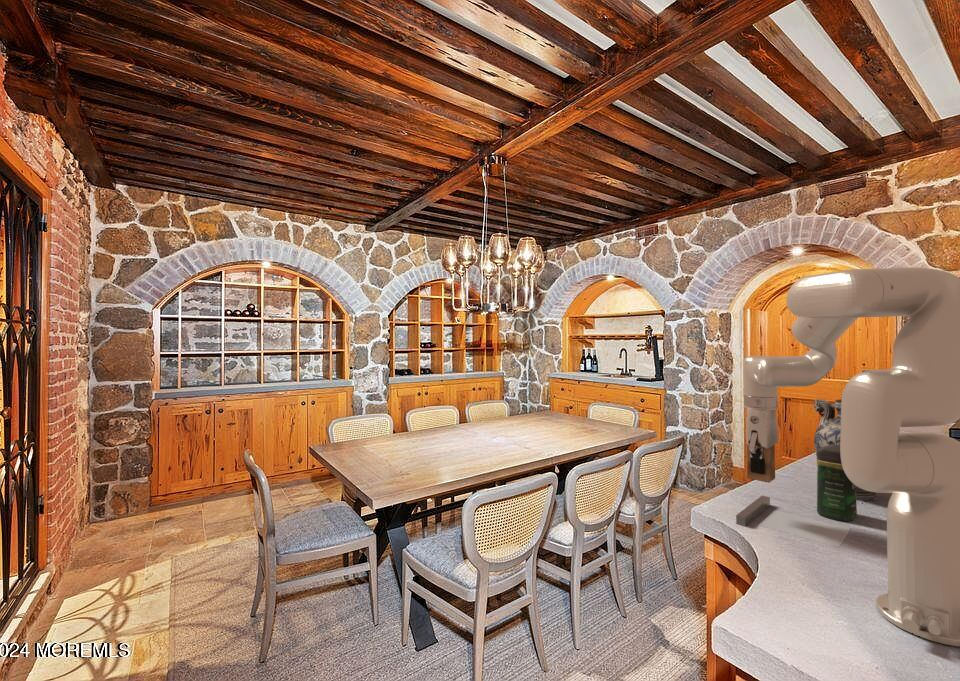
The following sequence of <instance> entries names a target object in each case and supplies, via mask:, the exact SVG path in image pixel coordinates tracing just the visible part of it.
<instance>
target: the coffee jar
mask: <svg viewBox="0 0 960 681" xmlns="http://www.w3.org/2000/svg"><path fill="white" fill-rule="evenodd" d="M816 475H817V477H816V478H817V479H816V480H817V481H816V487H817V490H816V512H817V514H818V515H820V516H823V517H825V518H827V519H829V520H834V521H841V522H847V523H849V522H852V521H853V520H855V519H856V517H857V513H858V508H857V506H858V505H857V499H856V485H854V484H853V483H852V482H851V481H850V480H849V478H848V477H847V476H846V474H845V472H844V470H843V467H842V463H841V456H840V445H835V444H830V445H828V446H824V447H821V448H820V449H818V450H817V455H816Z"/></svg>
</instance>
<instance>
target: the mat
mask: <svg viewBox="0 0 960 681" xmlns="http://www.w3.org/2000/svg"><path fill="white" fill-rule="evenodd" d="M758 526H759V527H762V528H766V529H769V530H773V531H777V532H780V533H784V534H788V535H791V536H795V537H798V538H799V537H800V538H803V539H806V540H810V541H814V542H817V543H821V544H824V545H829V546H833V547H836V548H840V546H841V545H842V544H843V542H844V540H845V539H846V538H847V535H848V534H849V533H850V531H851V529H852V528H850V527H847V526H844V525H838V524H833V523H829V522H826V521H823V520H822V521H820V520H818V519H814V518H810V517H805V516H803V515H802V516H801V515H798V514H792V513H789V512H786V511H785V512H784V511H780V510H776V509H775V510H773V511H772V512H771V513H770V514H769V515H768V516H766V517H765V518H764V519H763V520H762V521H761V522H760V523H759V524H758Z"/></svg>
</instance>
